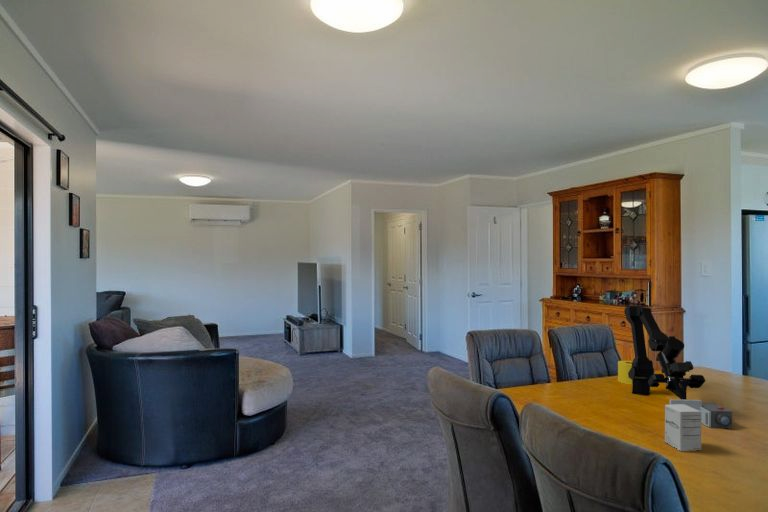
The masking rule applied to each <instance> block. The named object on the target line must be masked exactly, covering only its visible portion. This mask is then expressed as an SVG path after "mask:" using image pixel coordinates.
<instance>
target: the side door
mask: <svg viewBox="0 0 768 512" xmlns="http://www.w3.org/2000/svg"><path fill="white" fill-rule="evenodd" d="M702 402H703V401H702V400H701V399H687V400H683V399H680V398H677V399H676V398H675V399H672V398H670V399H669V404H668V405H672V404H685V405H687V406H690V407H692V408H694V409H696V410H699V411H701V424H703V425H704V426H706V427H707V428H711V412H710V411H708V410H706V409H705V408H703V407H702Z"/></svg>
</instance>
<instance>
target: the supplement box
mask: <svg viewBox="0 0 768 512" xmlns="http://www.w3.org/2000/svg"><path fill="white" fill-rule="evenodd" d="M665 442H666V443H665ZM664 443H665V444H667V443H668V444H667V445H669V446H671V447H673V448H674V447H675V448H674V449H676V448H677V449H676V450H678V451H679V450H680V451H679V452H687V451H686V450H701V451H702V423H701V411H699V410H696V409H694V408H692V407H690V406H687V405H685V404H672V405H669V404H665V405H664Z"/></svg>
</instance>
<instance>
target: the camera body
mask: <svg viewBox="0 0 768 512" xmlns="http://www.w3.org/2000/svg"><path fill="white" fill-rule="evenodd" d="M702 407H703V408H705V409H706V410H708V411H710V412H711V427H710V428H712V429H713V428H715V429H733V410H731V409H728V408H726V407H725V406H722V405H720V404H718V403H716V402H708V401H707V402H705V401H704V402H703V401H702Z"/></svg>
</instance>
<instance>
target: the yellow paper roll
mask: <svg viewBox="0 0 768 512" xmlns="http://www.w3.org/2000/svg"><path fill="white" fill-rule="evenodd" d="M632 361H633V360H619V361H617V382H618V381H619V382H618V383H620V382H621V383H620V384H623V383H625V384H624V385H629V384H632V379H630V378H629V376H628V372H629V371H630V369H631V367H632Z"/></svg>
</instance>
